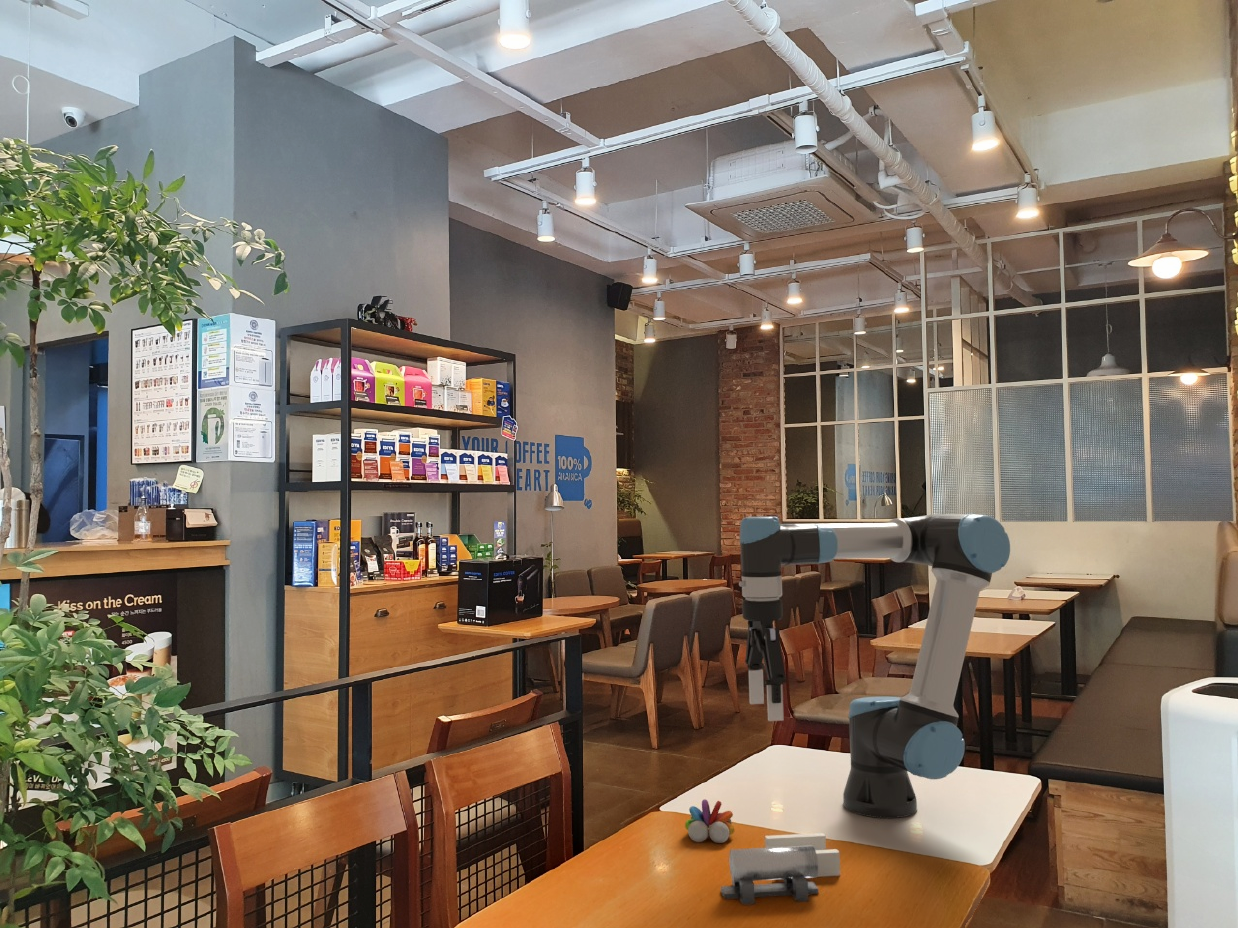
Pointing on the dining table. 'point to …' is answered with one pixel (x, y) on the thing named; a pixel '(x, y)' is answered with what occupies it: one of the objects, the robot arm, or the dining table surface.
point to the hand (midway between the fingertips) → (765, 711)
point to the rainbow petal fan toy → (709, 823)
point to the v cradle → (769, 889)
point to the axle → (773, 863)
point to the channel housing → (826, 858)
